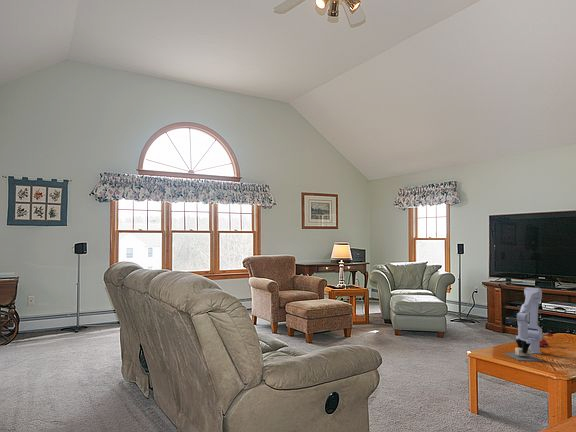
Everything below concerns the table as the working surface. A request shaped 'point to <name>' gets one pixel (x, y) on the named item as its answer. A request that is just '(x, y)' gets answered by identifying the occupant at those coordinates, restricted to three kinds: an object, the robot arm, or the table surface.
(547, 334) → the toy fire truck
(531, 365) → the table surface
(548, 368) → the table surface
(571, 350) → the table surface
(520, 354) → the birch card box
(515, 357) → the charcoal rubber mat
